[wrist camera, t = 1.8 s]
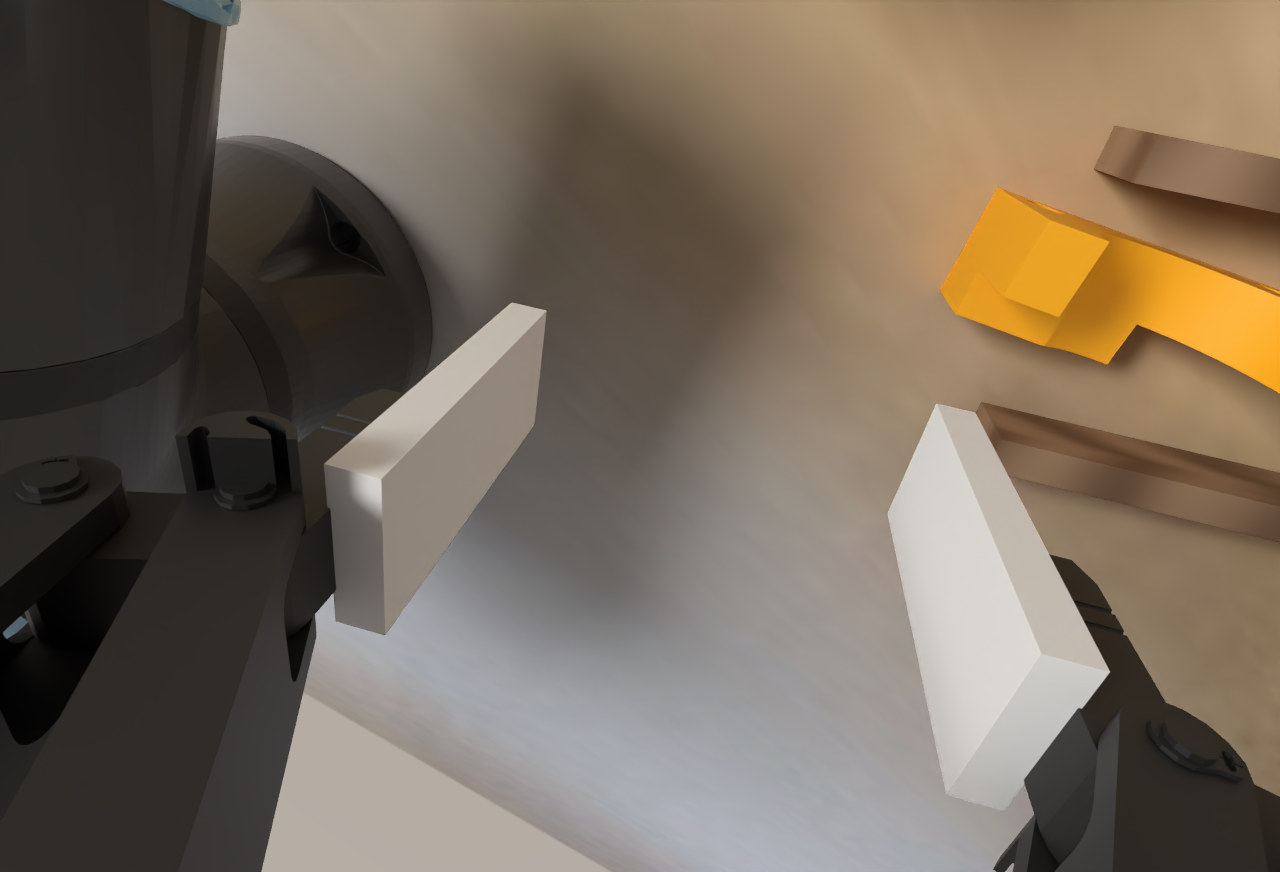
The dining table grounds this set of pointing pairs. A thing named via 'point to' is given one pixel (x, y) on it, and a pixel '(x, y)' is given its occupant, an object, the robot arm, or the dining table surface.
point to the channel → (1132, 464)
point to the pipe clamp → (1106, 290)
